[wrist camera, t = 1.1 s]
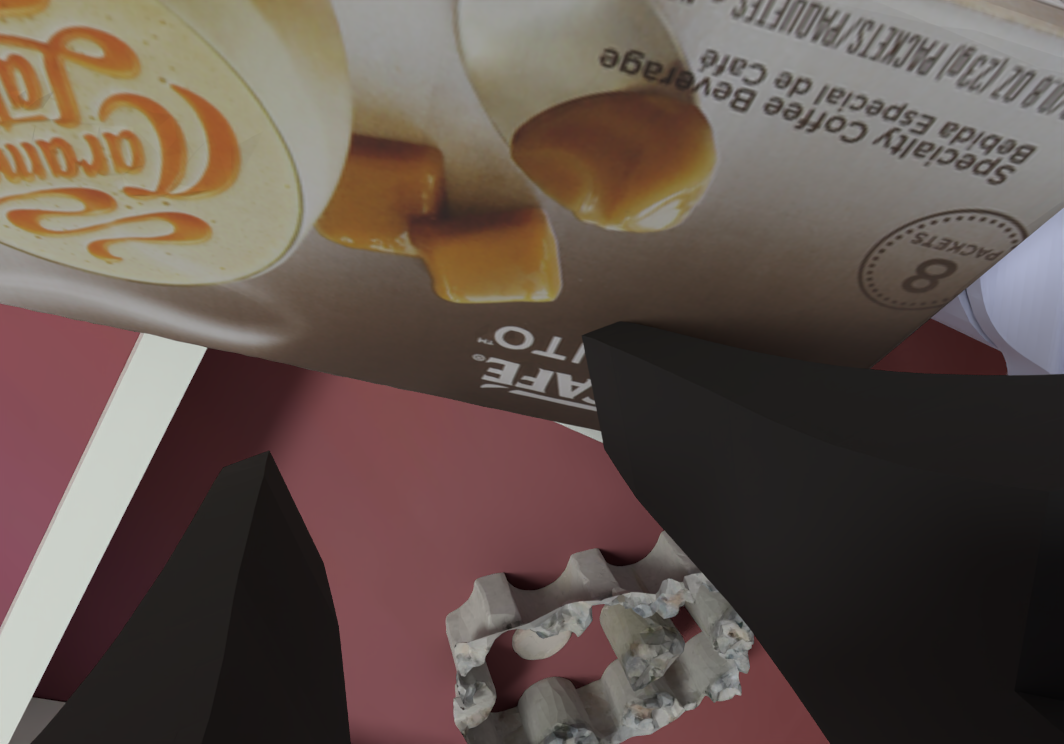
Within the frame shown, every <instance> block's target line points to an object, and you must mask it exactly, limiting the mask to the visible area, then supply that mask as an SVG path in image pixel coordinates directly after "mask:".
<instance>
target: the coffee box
mask: <svg viewBox="0 0 1064 744" xmlns="http://www.w3.org/2000/svg"><path fill="white" fill-rule="evenodd" d="M1063 208H1064V0H0V303H1V304H5V305H10V306H15V307H20V308H25V309H29V310H32V311H36V312H42V313H48V314H54V315H59V316H62V317H66V318H70V319H74V320H80V321H87V322H90V323H93V324H100V325H106V326H111V327H115V328H120V329H125V330H129V331H134V332H140V333H146V334H151V335H155V336H159V337H163V338H167V339H171V340H174V341H179V342H184V343H189V344H194V345H198V346H203V347H207V348H212V349H217V350H222V351H228V352H233V353H239V354H242V355H246V356H251V357H259V358H262V359H265V360H270V361H274V362H280V363H285V364H289V365H293V366H297V367H301V368H305V369H309V370H314V371H319V372H324V373H328V374H332V375H336V376H342V377H348V378H353V379H357V380H362V381H366V382H371V383H375V384H381V385H387V386H391V387H394V388H398V389H404V390H409V391H414V392H420V393H425V394H430V395H434V396H439V397H444V398H449V399H453V400H458V401H462V402H466V403H470V404H475V405H479V406H483V407H489V408H494V409H499V410H504V411H509V412H513V413H518V414H522V415H527V416H531V417H536V418H541V419H546V420H550V421H555V422H559V423H563V424H568V425H573V426H578V427H583V428H588V429H593V430H597V431H601V430H600V425H599V420H598V415H597V410H596V405H595V400H594V395H593V390H592V385H591V380H590V375H589V370H588V365H587V360H586V355H585V350H584V345H583V340H582V335H584V334H586V333H589V332H592V331H594V330H597V329H600V328H603V327H605V326H608V325H611V324H613V323H616V322H619V321H622V322H629V323H635V324H640V325H645V326H649V327H653V328H658V329H662V330H666V331H670V332H674V333H678V334H682V335H686V336H690V337H694V338H698V339H702V340H706V341H710V342H715V343H719V344H723V345H727V346H732V347H736V348H741V349H745V350H750V351H755V352H759V353H764V354H769V355H775V356H781V357H786V358H792V359H797V360H803V361H808V362H815V363H822V364H829V365H836V366H845V367H854V368H864V369H870V368H871V367H873V366H874V365H875V364H876V363H877V362H879V361H880V360H881V359H882V358H883V357H885V356H886V355H887V354H888V353H889V352H891V351H892V350H893V349H894V348H896V347H897V346H898V345H899V344H900V343H902V342H903V341H904V340H905V339H906V338H908V337H909V336H910V335H911V334H912V333H914V332H915V331H916V330H917V329H918V328H920V327H921V326H922V325H923V324H924V323H926V322H927V321H928V320H929V319H930V318H932V317H933V316H934V315H935V314H936V313H938V312H939V311H940V310H941V309H942V308H944V307H945V306H946V305H947V304H948V303H950V302H951V301H952V300H953V299H954V298H956V297H957V296H958V295H959V294H960V293H962V292H963V291H964V290H965V289H966V288H968V287H969V286H970V285H971V284H972V283H974V282H975V281H976V280H977V279H978V278H980V277H981V276H982V275H983V274H984V273H986V272H987V271H988V270H989V269H990V268H992V267H993V266H994V265H995V264H996V263H998V262H999V261H1000V260H1001V259H1002V258H1004V257H1005V256H1006V255H1007V254H1008V253H1010V252H1011V251H1012V250H1013V249H1014V248H1016V247H1017V246H1018V245H1019V244H1020V243H1022V242H1023V241H1024V240H1025V239H1026V238H1028V237H1029V236H1030V235H1031V234H1032V233H1034V232H1035V231H1036V230H1037V229H1038V228H1040V227H1041V226H1042V225H1043V224H1044V223H1046V222H1047V221H1048V220H1049V219H1050V218H1052V217H1053V216H1054V215H1055V214H1057V213H1058V212H1059V211H1060V210H1062V209H1063Z"/></svg>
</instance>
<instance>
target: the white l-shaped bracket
mask: <svg viewBox="0 0 1064 744" xmlns="http://www.w3.org/2000/svg"><path fill="white" fill-rule="evenodd" d="M206 349H207V347H203V346H198V345H194V344H189V343H184V342H179V341H174V340H171V339H167V338H163V337H159V336H155V335H151V334H146V333H140V335H139V337H138V339H137V341H136V344H135V346H134V348H133V350H132V352H131V354H130V356H129V358H128V360H127V363H126V365H125V367H124V369H123V371H122V373H121V375H120V377H119V379H118V381H117V384H116V386H115V388H114V390H113V392H112V394H111V396H110V398H109V400H108V402H107V405H106V407H105V409H104V411H103V413H102V415H101V417H100V419H99V421H98V423H97V426H96V428H95V430H94V432H93V434H92V436H91V438H90V440H89V442H88V445H87V447H86V449H85V451H84V453H83V455H82V457H81V459H80V461H79V463H78V466H77V468H76V470H75V472H74V474H73V476H72V478H71V480H70V482H69V484H68V487H67V489H66V491H65V493H64V495H63V497H62V499H61V501H60V503H59V505H58V508H57V510H56V512H55V514H54V516H53V518H52V520H51V522H50V524H49V527H48V529H47V531H46V533H45V535H44V537H43V539H42V541H41V543H40V545H39V548H38V550H37V552H36V554H35V556H34V558H33V560H32V562H31V564H30V566H29V569H28V571H27V573H26V575H25V577H24V579H23V581H22V583H21V585H20V588H19V590H18V592H17V594H16V596H15V598H14V600H13V602H12V604H11V606H10V609H9V611H8V613H7V615H6V617H5V619H4V621H3V623H2V625H1V627H0V744H30V743H31V742H32V741H33V740H34V739H35V738H36V737H37V736H38V735H39V734H40V733H41V731H42V730H43V729H44V728H45V727H46V726H47V725H48V723H49V722H50V721H51V720H52V719H53V718H54V716H55V715H56V714H57V713H58V712H59V710H60V709H61V708H62V707H63V706H64V704H65V703H66V702H60V701H54V700H47V699H41V698H34V697H32V696H33V694H34V692H35V690H36V688H37V686H38V684H39V682H40V680H41V678H42V676H43V674H44V672H45V670H46V668H47V666H48V664H49V662H50V660H51V658H52V656H53V654H54V652H55V650H56V648H57V646H58V644H59V642H60V640H61V638H62V636H63V634H64V632H65V630H66V628H67V626H68V624H69V622H70V620H71V618H72V616H73V614H74V612H75V610H76V608H77V606H78V604H79V602H80V600H81V598H82V596H83V594H84V592H85V590H86V588H87V586H88V584H89V582H90V580H91V578H92V576H93V574H94V572H95V570H96V568H97V566H98V564H99V562H100V560H101V558H102V556H103V554H104V552H105V550H106V548H107V546H108V544H109V542H110V540H111V538H112V536H113V534H114V532H115V530H116V529H117V527H118V525H119V523H120V521H121V519H122V517H123V515H124V513H125V511H126V509H127V507H128V505H129V503H130V501H131V499H132V497H133V495H134V493H135V491H136V489H137V487H138V485H139V483H140V481H141V479H142V477H143V475H144V473H145V471H146V469H147V467H148V465H149V463H150V461H151V459H152V457H153V455H154V453H155V451H156V449H157V447H158V445H159V443H160V441H161V439H162V437H163V435H164V433H165V431H166V429H167V427H168V425H169V423H170V421H171V419H172V417H173V415H174V413H175V411H176V409H177V407H178V405H179V403H180V401H181V399H182V397H183V395H184V393H185V391H186V389H187V387H188V385H189V383H190V381H191V379H192V377H193V375H194V373H195V371H196V369H197V367H198V365H199V363H200V361H201V359H202V357H203V355H204V353H205V351H206ZM554 422H555V421H554ZM556 423H559V422H556ZM559 424H561V425H563V426H566V427H568V428H570V429H572V430H575V431H577V432H579V433H582V434H584V435H586V436H588V437H591V438H593V439H595V440H598V441H600V442H602V443H603V440H602V435H601V431H597V430H593V429H588V428H583V427H578V426H573V425H568V424H563V423H559Z"/></svg>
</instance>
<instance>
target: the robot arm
mask: <svg viewBox="0 0 1064 744" xmlns="http://www.w3.org/2000/svg"><path fill="white" fill-rule="evenodd" d="M932 319H934V320H936V321H938V322H940V323H942V324H944V325H946V326H948V327H951V328H953V329H955V330H957V331H959V332H961V333H963V334H965V335H967V336H969V337H972V338H974V339H976V340H978V341H980V342H982V343H984V344H986V345H988V346H990V347H993V348H995V349H997V350H999V351H1001V352H1002V354H1003V356H1004V358H1005V361H1006V365H1007V370H1008V375H955V374H924V373H908V372H893V371H883V370H873V369H864V368H854V367H845V366H836V365H829V364H822V363H815V362H808V361H803V360H797V359H792V358H786V357H781V356H775V355H769V354H764V353H759V352H755V351H750V350H745V349H741V348H736V347H732V346H727V345H723V344H719V343H715V342H710V341H706V340H702V339H698V338H694V337H690V336H686V335H682V334H678V333H674V332H670V331H666V330H662V329H658V328H653V327H649V326H645V325H640V324H635V323H629V322H622V321H619V322H616V323H613V324H611V325H608V326H605V327H603V328H600V329H597V330H594V331H592V332H589V333H586V334H584V335H582V340H583V345H584V350H585V355H586V360H587V365H588V370H589V375H590V380H591V385H592V390H593V395H594V400H595V405H596V410H597V415H598V420H599V425H600V430H601V435H602V440H603V445H604V449H605V451H606V452H607V454H608V455H609V457H610V459H611V460H612V462H613V463H614V465H615V466H616V468H617V470H618V471H619V473H620V474H621V476H622V477H623V479H624V480H625V482H626V483H627V485H628V486H629V488H630V489H631V491H632V492H633V494H634V495H635V496H636V498H637V499H638V500H639V502H640V503H641V504H642V505H643V506H644V508H645V509H646V510H647V511H648V512H649V513H650V514H651V516H652V517H653V518H654V519H655V520H656V521H657V522H658V524H659V525H660V526H661V527H662V528H663V529H664V530H665V532H666V533H667V534H668V535H669V536H670V537H671V538H672V540H673V541H674V542H675V543H676V544H677V545H678V546H679V547H680V549H681V550H682V551H683V552H684V553H685V554H686V555H687V556H688V558H689V559H690V560H691V561H692V562H693V563H694V564H695V565H696V567H697V568H698V569H699V570H700V571H701V572H702V573H703V574H704V576H705V577H706V578H707V579H708V580H709V581H710V582H711V583H712V585H713V586H714V587H715V588H716V589H717V590H718V591H719V592H720V594H721V595H722V596H723V597H724V598H725V599H726V600H727V601H728V603H729V604H730V605H731V606H732V607H733V609H734V610H735V611H736V612H737V613H738V615H739V616H740V617H741V618H742V620H743V621H744V622H745V623H746V625H747V626H748V627H749V628H750V630H751V631H752V632H753V634H754V635H755V636H756V638H757V639H758V641H759V642H760V643H761V645H762V646H763V648H764V649H765V650H766V652H767V653H768V655H769V656H770V657H771V659H772V660H773V662H774V663H775V664H776V666H777V667H778V669H779V670H780V671H781V673H782V674H783V676H784V677H785V678H786V680H787V681H788V683H789V684H790V685H791V687H792V688H793V690H794V691H795V693H796V694H797V696H798V697H799V699H800V700H801V701H802V703H803V704H804V706H805V707H806V709H807V710H808V712H809V713H810V715H811V716H812V718H813V719H814V720H815V722H816V723H817V725H818V726H819V728H820V729H821V731H822V732H823V734H824V735H825V737H826V738H827V740H828V741H829V742H830V744H1064V208H1063V209H1062V210H1060V211H1059V212H1058V213H1057V214H1055V215H1054V216H1053V217H1052V218H1050V219H1049V220H1048V221H1047V222H1046V223H1044V224H1043V225H1042V226H1041V227H1040V228H1038V229H1037V230H1036V231H1035V232H1034V233H1032V234H1031V235H1030V236H1029V237H1028V238H1026V239H1025V240H1024V241H1023V242H1022V243H1020V244H1019V245H1018V246H1017V247H1016V248H1014V249H1013V250H1012V251H1011V252H1010V253H1008V254H1007V255H1006V256H1005V257H1004V258H1002V259H1001V260H1000V261H999V262H998V263H996V264H995V265H994V266H993V267H992V268H990V269H989V270H988V271H987V272H986V273H984V274H983V275H982V276H981V277H980V278H978V279H977V280H976V281H975V282H974V283H972V284H971V285H970V286H969V287H968V288H966V289H965V290H964V291H963V292H962V293H960V294H959V295H958V296H957V297H956V298H954V299H953V300H952V301H951V302H950V303H948V304H947V305H946V306H945V307H944V308H942V309H941V310H940V311H939V312H938V313H936V314H935V315H934V316H933V317H932ZM30 744H351V742H350V732H349V722H348V712H347V702H346V692H345V681H344V672H343V662H342V652H341V643H340V634H339V625H338V621H337V617H336V612H335V608H334V604H333V599H332V595H331V591H330V587H329V583H328V579H327V575H326V571H325V567H324V563H323V561H322V559H321V557H320V555H319V553H318V550H317V548H316V546H315V544H314V542H313V540H312V538H311V536H310V534H309V532H308V530H307V528H306V526H305V523H304V521H303V519H302V517H301V515H300V513H299V511H298V509H297V507H296V505H295V503H294V501H293V498H292V496H291V494H290V492H289V490H288V488H287V486H286V484H285V482H284V480H283V478H282V476H281V474H280V471H279V469H278V467H277V465H276V463H275V461H274V459H273V457H272V455H271V453H270V451H267V452H264V453H261V454H258V455H256V456H253V457H250V458H248V459H245V460H242V461H240V462H237V463H234V464H231V465H229V466H226V467H223V469H222V470H221V472H220V473H219V475H218V476H217V478H216V480H215V481H214V483H213V485H212V487H211V488H210V490H209V492H208V494H207V495H206V497H205V499H204V501H203V502H202V504H201V506H200V508H199V510H198V511H197V513H196V515H195V517H194V518H193V520H192V522H191V523H190V525H189V527H188V529H187V530H186V532H185V534H184V535H183V537H182V539H181V540H180V542H179V544H178V545H177V547H176V549H175V550H174V552H173V554H172V555H171V557H170V559H169V560H168V562H167V564H166V565H165V567H164V569H163V570H162V572H161V573H160V575H159V576H158V578H157V579H156V581H155V582H154V584H153V585H152V587H151V588H150V590H149V591H148V592H147V594H146V595H145V597H144V598H143V600H142V601H141V603H140V604H139V606H138V607H137V609H136V610H135V612H134V613H133V615H132V616H131V618H130V619H129V621H128V622H127V624H126V625H125V627H124V628H123V630H122V631H121V633H120V634H119V635H118V637H117V638H116V639H115V641H114V642H113V644H112V645H111V646H110V648H109V649H108V650H107V652H106V653H105V654H104V656H103V657H102V658H101V660H100V661H99V662H98V663H97V665H96V666H95V667H94V669H93V670H92V671H91V673H90V674H89V675H88V676H87V677H86V679H85V680H84V681H83V682H82V684H81V685H80V686H79V687H78V688H77V690H76V691H75V692H74V693H73V695H72V696H71V697H70V698H69V699H68V701H67V702H66V703H65V704H64V706H63V707H62V708H61V709H60V710H59V712H58V713H57V714H56V715H55V716H54V718H53V719H52V720H51V721H50V722H49V723H48V725H47V726H46V727H45V728H44V729H43V730H42V731H41V733H40V734H39V735H38V736H37V737H36V738H35V739H34V740H33V741H32V742H31V743H30Z"/></svg>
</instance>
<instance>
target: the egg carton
mask: <svg viewBox="0 0 1064 744" xmlns="http://www.w3.org/2000/svg"><path fill="white" fill-rule="evenodd" d="M598 604H606V605H605V606H604V607H603V609H602V611H601V614H600V624H601V626H602V628H603V630H604V632H605V634H606V636H607V638H608V640H609V642H610V644H611V646H612V648H613V650H614V652H615V654H616V656H617V657H618V659H616V660H615V661H613V662H612V663H611V664H610V665H609V666H608V667H607V669H606V670H605V671H604V673H603V675H602V677H601V679H600V680H597V681H594V682H592V683H590V684H588V685H586V686H583V687H581V688H578V689H575V687H574V685H573V684H572V682H571V681H569V680H567V679H565V678H561V677H550V678H545V679H543V680H540V681H538V682H537V683H535V684H533V685H531V686H530V687H529V688H528V689H527V690H525V692H524V693H523V695H522V696H521V698H520V699H519V702H518V706H516V707H514V708H511V709H508V710H505V711H502V712H497V713H490V711H491V710H492V708H493V706H494V704H495V701H496V697H497V696H496V690H495V687H494V684H493V681H492V679H491V676H490V673H489V670H488V667H487V664H486V661H485V657H486V655H487V653H488V652H489V650H490V648H491V646H492V644H493V642H494V640H495V639H496V638H497V637H499V636H500V635H501V634H502V633H504V632H506V631H508V630H513V629H517V630H516V631H515V633H514V635H513V638H512V646H513V649H514V651H515V652H517V654H518V655H519V656H520V657H521V658H524V659H528V660H537V659H544V658H547V657H550V656H552V655H553V654H555V653H557V652H558V651H559V650H560V649H561V648H563V647H564V645H565V644H566V643H567V642H568V640H569V638H570V636H571V633H572V632H574V633H575V634H576V635H577V636H578V637H579V636H580V635H581V634H582V633H583V632H584V631H585V629H586V628H587V627H588V626H589V624H590V623H591V622H592V621H593V620H592V605H598ZM683 605H684V606H685V607H686V609H687V610H688V612H689V613H690V615H691V616H692V617H693V619H694V620H695V622H696V623H697V624H698V626H699V627H700V629H701V630H702V631H703V632H701V633H699V634H697V635H696V636H694V637H693V638H691V639H690V640H689V641H688V642H687V643H686V644H685V642H684V640H683V637H682V636H681V634H680V633H679V631H678V630H677V628H676V627H675V625H674V624H673V622H672V621H671V619H670V617H674V616H676V615H677V614H678V611H679V607H681V606H683ZM446 633H447V636H448V639H449V643H450V647H451V651H452V655H453V658H454V662H455V666H456V670H457V674H456V681H457V684H455V692H456V698H454V701H453V705H454V721H455V724H456V726H457V727H458V728H459V730H460V731H461V733H462V735H463V737H464V738H465V740H466V742H467V744H619V743H621V742H623V741H625V740H627V739H628V738H630V737H632V736H640V735H648V734H652V733H653V732H655V731H657V730H658V729H660V728H661V727H663V726H665V725H667V724H669V723H670V722H672V721H674V720H675V719H677V718H678V717H679V716H680V715H681V714H682V713H683V712H685V711H687V710H692V709H695V708H696V707H697V706H699V704H700V703H701V701H702V699H703V697H704V696H708V697H709V698H710V699H711V700H712V701H713V702H714V703H715V702H716V701H724V700H728V699H732V697H733V696H734V695H735V694H736V695H741V685H740V682H739V677H738V675H739V671H740V672H743V673H748V671H749V668H750V666H749V659H748V650H749V649H751V645H752V644H754V634H753V632H752V631H751V630H750V628H749V627H748V626H747V625H746V623H745V622H744V621H743V620H742V618H741V617H740V616H739V615H738V613H737V612H736V611H735V610H734V609H733V607H732V606H731V605H730V604H729V603H728V601H727V600H726V599H725V598H724V597H723V596H722V595H721V594H720V592H719V591H718V590H717V589H716V588H715V587H714V586H713V585H712V583H711V582H710V581H709V580H708V579H707V578H706V577H705V576H704V574H703V573H702V572H701V571H700V570H699V569H698V568H697V567H696V565H695V564H694V563H693V562H692V561H691V560H690V559H689V558H688V556H687V555H686V554H685V553H684V552H683V551H682V550H681V549H680V547H679V546H678V545H677V544H676V543H675V542H674V541H673V540H672V538H671V537H670V536H669V535H668V534H667V533H666V532H665V531H663V532H662V533H661V534H660V536H659V539H658V542H657V544H656V545H655V547H654V548H653V550H652V551H651V552H650V553H649V554H648V555H647V556H646V557H645V558H644V559H642V560H641V561H639V562H637V563H635V564H632V565H627V566H613V565H610V564H608V563H607V562H606V561H605V559H604V558H603V556H602V554H601V552H600V551H599V549H597V548H595V549H590V550H586V551H582V552H578V553H575V554H573V555H571V557H570V560H569V562H568V564H567V567H566V569H565V571H564V572H563V573H562V575H561V576H560V577H559V578H558V579H557V580H556V581H555V582H553V583H551V584H550V585H548V586H546V587H544V588H541V589H538V590H521V589H518V588H515V587H514V586H512V585H511V584H510V583H509V582H508V581H507V579H506V577H505V574H504V573H496V574H491V575H488V576H484V577H481V578H478V579H477V580H475V582H474V589H473V592H472V594H471V596H470V598H469V599H468V600H467V602H466V603H464V604H463V605H462V606H461V607H460V608H458V609H456V610H455V611H453V612H451V613H449V614H448V615H447V617H446ZM678 656H679V657H678ZM677 657H678V658H677Z"/></svg>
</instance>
